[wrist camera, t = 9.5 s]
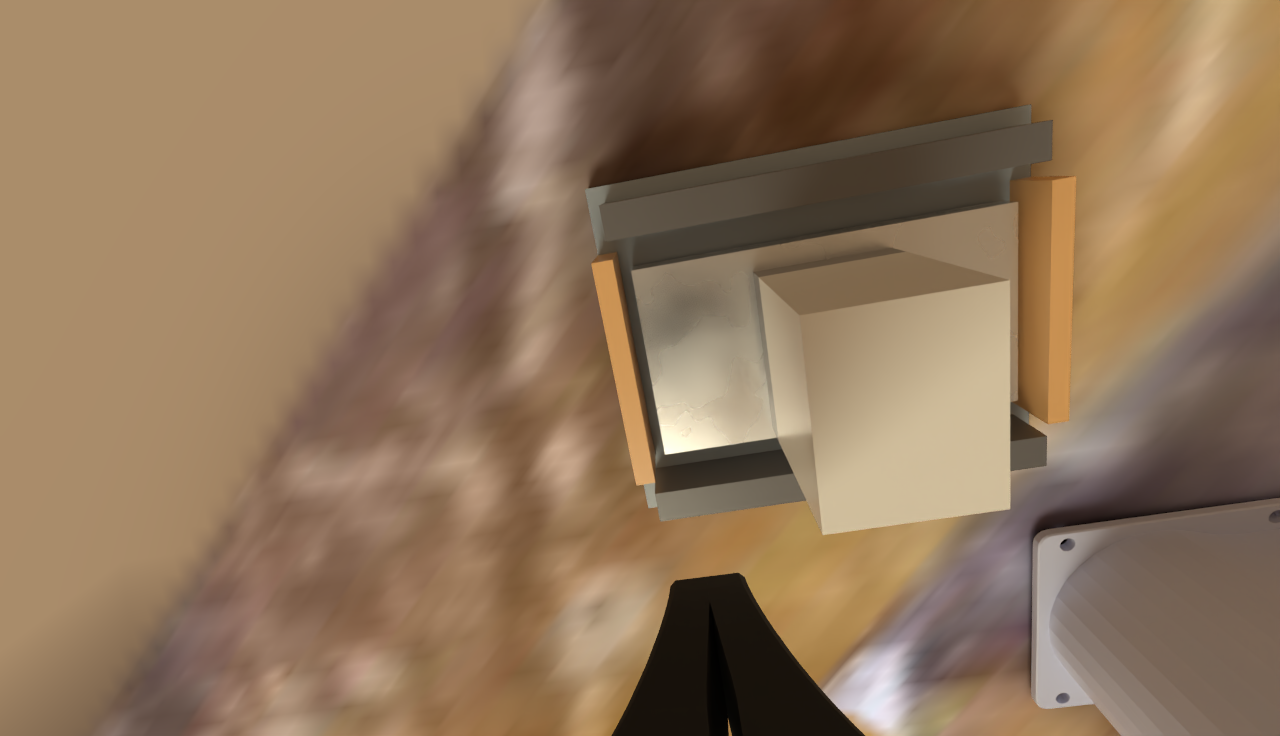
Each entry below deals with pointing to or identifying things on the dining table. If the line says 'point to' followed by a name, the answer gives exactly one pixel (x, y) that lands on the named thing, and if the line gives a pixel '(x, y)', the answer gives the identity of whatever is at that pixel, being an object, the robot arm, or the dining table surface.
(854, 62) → the dining table surface
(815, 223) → the rail panel
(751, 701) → the robot arm
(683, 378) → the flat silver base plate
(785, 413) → the block
